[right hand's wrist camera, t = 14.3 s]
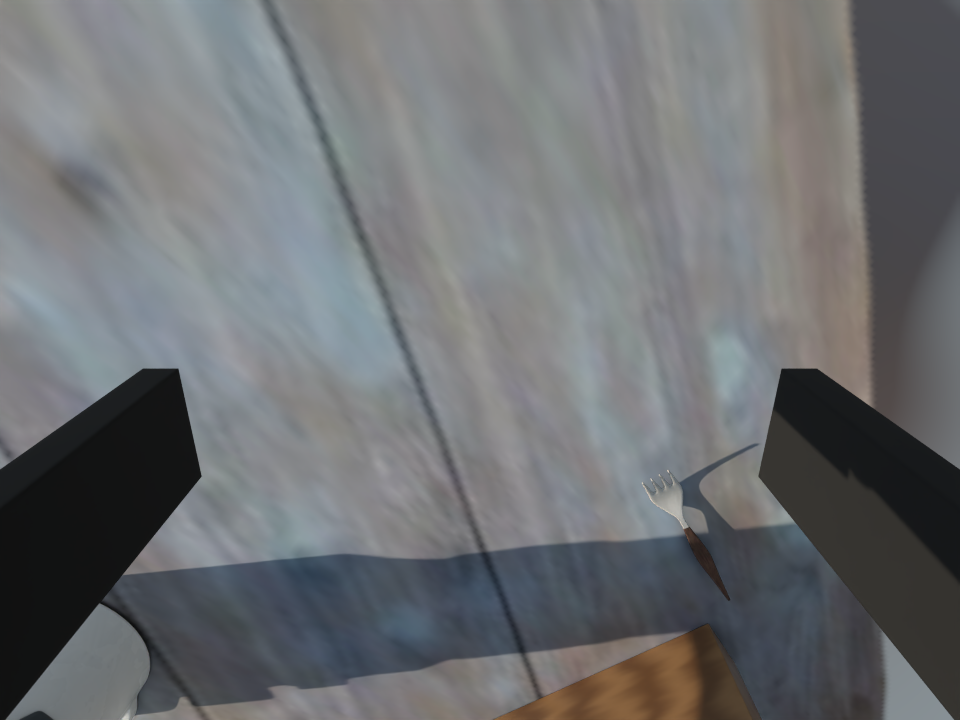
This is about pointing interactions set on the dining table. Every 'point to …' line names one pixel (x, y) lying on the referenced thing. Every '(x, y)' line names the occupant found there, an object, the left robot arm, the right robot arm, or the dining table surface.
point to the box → (655, 687)
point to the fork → (684, 524)
